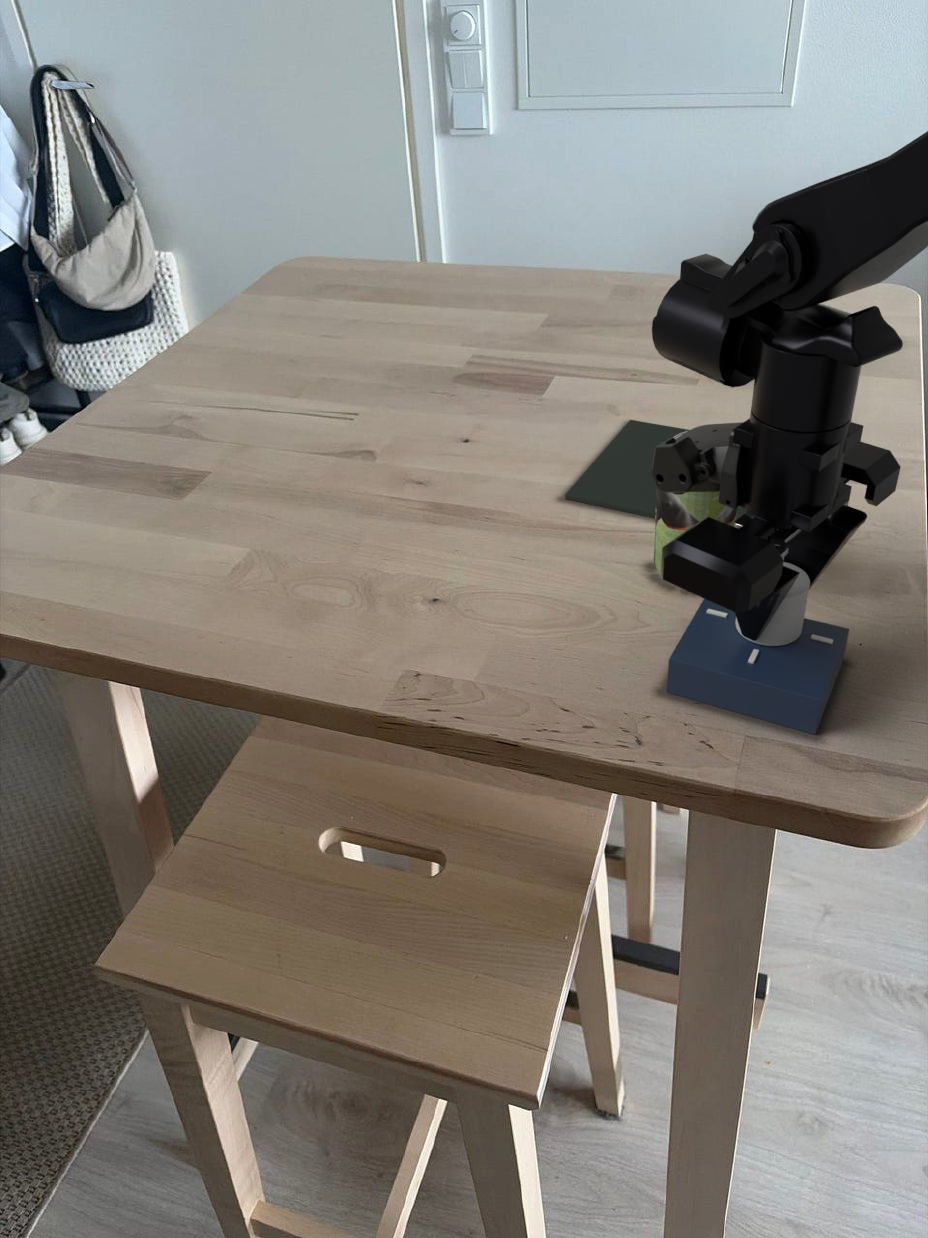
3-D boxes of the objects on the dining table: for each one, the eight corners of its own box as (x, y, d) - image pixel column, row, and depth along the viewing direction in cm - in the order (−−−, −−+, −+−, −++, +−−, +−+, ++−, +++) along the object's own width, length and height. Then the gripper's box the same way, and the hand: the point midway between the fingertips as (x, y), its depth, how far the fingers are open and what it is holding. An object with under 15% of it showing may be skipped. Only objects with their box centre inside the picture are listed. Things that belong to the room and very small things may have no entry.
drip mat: (833, 459, 92) (834, 454, 92) (789, 546, 81) (790, 541, 81) (630, 423, 100) (630, 419, 100) (565, 499, 90) (564, 494, 89)
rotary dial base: (849, 643, 71) (857, 608, 69) (815, 735, 64) (822, 698, 62) (712, 609, 75) (716, 575, 73) (666, 692, 68) (668, 656, 66)
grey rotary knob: (758, 599, 71) (765, 549, 68) (814, 624, 68) (823, 573, 66) (722, 627, 69) (728, 576, 66) (778, 655, 66) (786, 602, 63)
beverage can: (725, 549, 82) (740, 415, 74) (736, 602, 76) (753, 463, 68) (648, 549, 82) (655, 416, 75) (652, 602, 76) (660, 464, 69)
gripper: (767, 331, 68) (744, 524, 78) (593, 430, 59) (590, 637, 68) (925, 371, 62) (878, 577, 71) (759, 490, 52) (730, 710, 61)
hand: (769, 620), depth 68 cm, fingers closed on grey rotary knob, 4 cm apart
